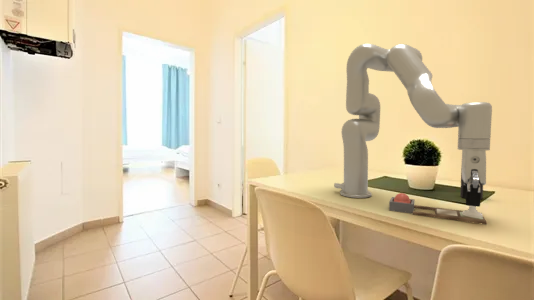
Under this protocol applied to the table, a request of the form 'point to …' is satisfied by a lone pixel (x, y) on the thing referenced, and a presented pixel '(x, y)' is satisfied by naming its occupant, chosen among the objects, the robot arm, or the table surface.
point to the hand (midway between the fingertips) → (470, 201)
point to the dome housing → (401, 206)
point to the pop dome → (402, 198)
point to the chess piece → (472, 212)
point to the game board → (448, 214)
